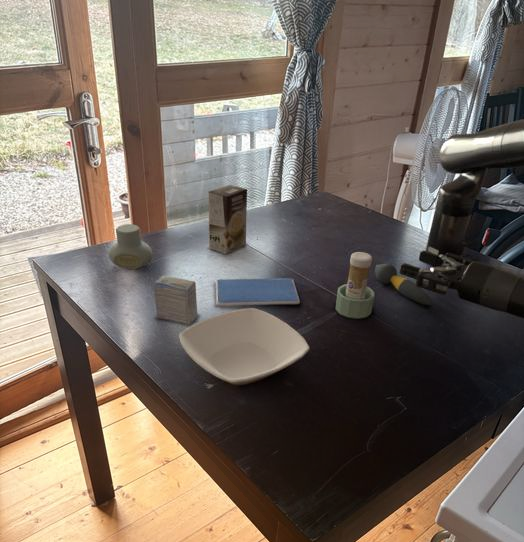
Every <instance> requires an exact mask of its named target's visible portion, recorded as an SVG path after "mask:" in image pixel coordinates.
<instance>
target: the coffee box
mask: <svg viewBox="0 0 524 542" xmlns="http://www.w3.org/2000/svg"><path fill="white" fill-rule="evenodd" d="M247 207H248V188H245V187H241V186H238V185H232V184H228V185H225V186H221V187H219V188H215V189H212V190H209V191H208V235H209V236H208V240H209V241H208V244H209V245H208V246H209V249H210V250H213V251H216V252H219V253H222V254H224V255H227V254H229V253H231V252H234V251H236V250H238V249H239V248H241V247H244V246H245V245H247V215H248V210H247V209H248V208H247Z"/></svg>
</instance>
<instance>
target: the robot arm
mask: <svg viewBox="0 0 524 542" xmlns="http://www.w3.org/2000/svg"><path fill="white" fill-rule="evenodd" d="M438 160H439V163H440V166H441V168H442V170H444V171H445V172H447V173H449V174H455V175H459V176H458V177H457V178H455V179H453V180H452V181H449V182H447V183H445V184H443V185H442V186H441V187H440V188H439V191H438V195H437V200H436V203H435V208H434V213H433V217H432V222H431V226H430V230H429V235H428V239H427V243H426V247H425V250H422V251H420V253H419V257H418V261H419V262H421V263H423V264H427V265H431V266H432V267H431V268H421V267H418V266H415V265H412V264H409V263H406V262H404V263H402V264H401V265H400V269H399V274H400V275H402V276H405V277H408V278H411V279H413V280H415V284H416V286H417V287H420V288H421V289H422V290H426V291H430V292H433V293H436V294H440V295H442V296H445V295H447V292H448V289H452V290H456V291H457V296H458V298H459V299H461V300H463V301H467V302H469V303H472V304H475V305H478V306H480V307H481V306H482V307H485V308H488V309H490V310H493V311H496V312H497V311H498V312H501V313H507V314H508V315H512V316H515V317H517V318H520V319H521V318H522V319H524V276H522V275H521V274H520V275H519V274H517V273H515V272H513V271H510V270H507V269H504V268H501V267H497V266H494V265H490V264H487V263H484V262H481V261H478V260H473V259H471V258H467V257H464V256H461V254H463V253H464V251H465V247H466V242H465V239H466V236H467V233H468V229H469V225H470V220H471V218H472V213H473V210H474V207H475V203H476V199H477V198H478V195H479V194H480V192H481V190H482V187H483V184H484V181H485V178H486V175H487V172H488V169H498V170H499V169H500V170H501V169H503V170H505V169H506V170H507V169H518V168H524V118H522V119H519V120H514V121H509V122H507V123H504V124H500V125H497V126H493V127H490V128H486V129H484V130H481V131H478V132H474V133H455V134H452V135H450V136H448V137H447V138H446V140H445V141H444V142H443V143H442V145H441V147H440V150H439V155H438Z"/></svg>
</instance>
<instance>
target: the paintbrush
mask: <svg viewBox="0 0 524 542" xmlns="http://www.w3.org/2000/svg"><path fill="white" fill-rule="evenodd" d="M374 273H375V277H376V280H377V281H378V282H379V283H380V284H383V285H389V284H392V285H393V287H394V288H395V289H396V290H397V291H398V292H399V294H401V295H403V296H404V297H406V298H408V299H410V300H411V301H414V302H416V303H417V304H420V305H422V306H423V305H424V306H432V305H433V300H432V299H431V298H430V296H429V295H428V294H427V293H426V292H425V290H424V289H423V288H420V287H417V286H416V282H414V281H412V280H410V279H408V278H406V277H403V276H399V275H398V271H397V268H396V267H395V266H394V265H392V264H390V263H381V264H376V265H375V268H374Z"/></svg>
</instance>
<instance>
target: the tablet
mask: <svg viewBox="0 0 524 542" xmlns="http://www.w3.org/2000/svg"><path fill="white" fill-rule="evenodd" d="M215 303H216V306H217V307H231V306H232V307H235V306H271V305H272V306H273V305H299V304H300V303H301V299H300V298H299V294H298V291H297V288H296V285H295V282H294V279H293V278H291V277H282V278H281V277H277V278H275V277H274V278H226V279H225V278H224V279H223V278H221V279H215Z"/></svg>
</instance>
